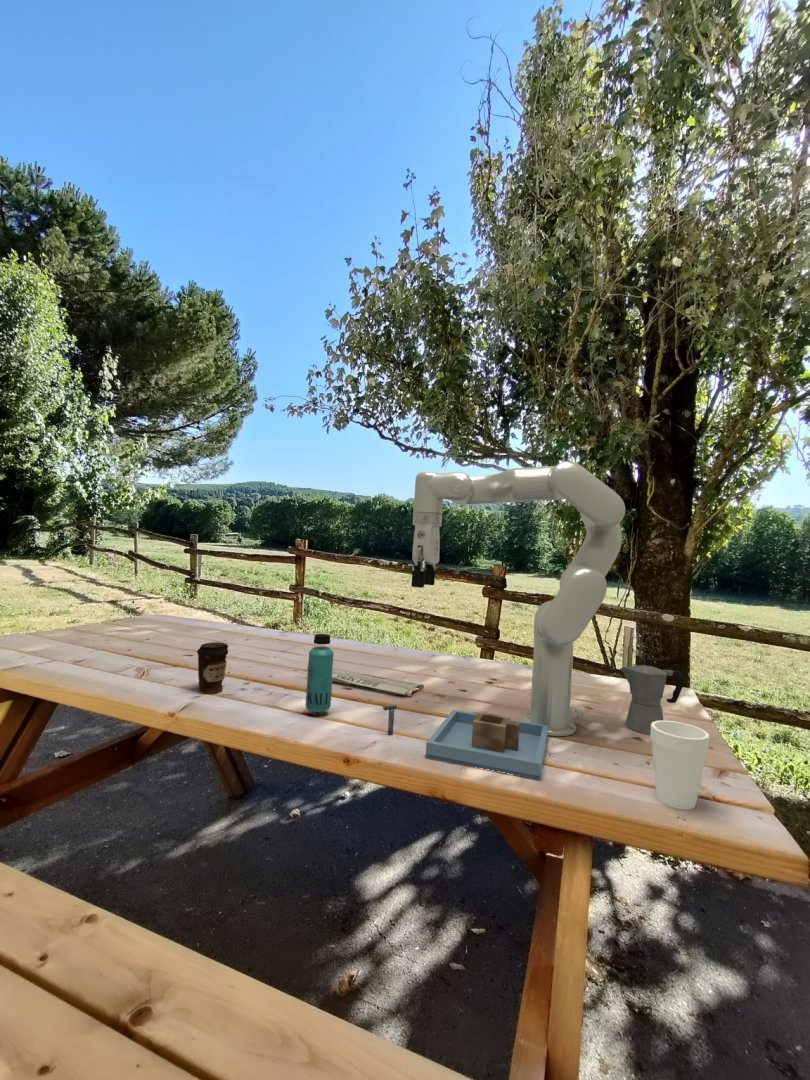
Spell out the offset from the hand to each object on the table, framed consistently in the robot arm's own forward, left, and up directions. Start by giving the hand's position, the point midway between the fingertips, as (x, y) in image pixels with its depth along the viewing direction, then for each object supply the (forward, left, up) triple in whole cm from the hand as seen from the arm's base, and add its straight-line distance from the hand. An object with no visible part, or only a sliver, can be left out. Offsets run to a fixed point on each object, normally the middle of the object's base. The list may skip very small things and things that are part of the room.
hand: (423, 585), depth 133 cm
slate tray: (-6, +25, -33) cm, 42 cm away
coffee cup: (+47, -33, -33) cm, 67 cm away
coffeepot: (-53, +28, -33) cm, 68 cm away
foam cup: (-25, +56, -33) cm, 70 cm away
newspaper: (+4, -29, -34) cm, 45 cm away
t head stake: (+12, +11, -33) cm, 37 cm away
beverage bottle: (+24, -7, -33) cm, 42 cm away
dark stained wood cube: (-7, +26, -32) cm, 42 cm away
